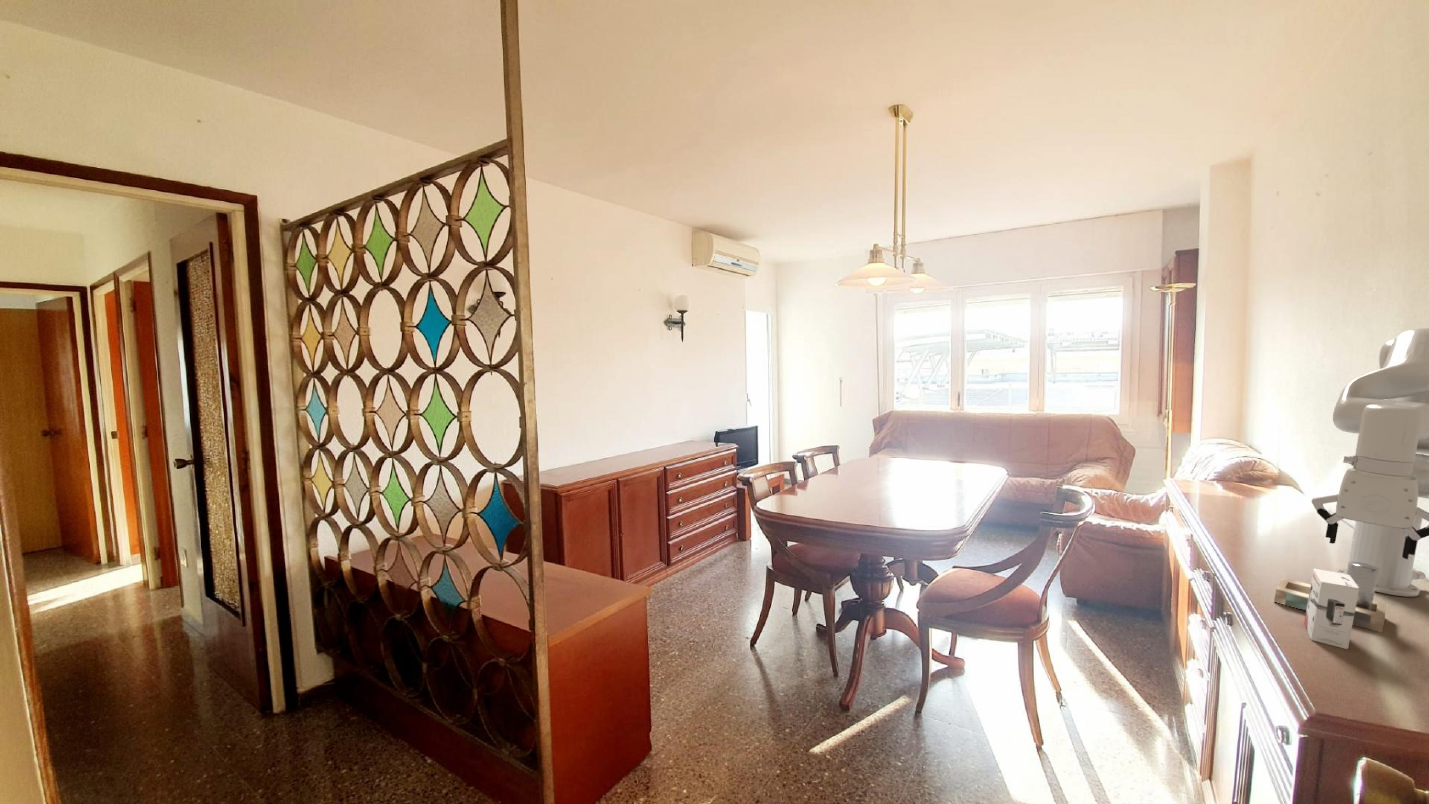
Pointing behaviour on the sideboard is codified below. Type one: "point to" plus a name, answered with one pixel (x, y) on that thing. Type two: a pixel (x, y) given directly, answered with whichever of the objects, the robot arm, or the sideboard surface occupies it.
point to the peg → (1364, 582)
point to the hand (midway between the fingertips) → (1367, 549)
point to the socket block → (1299, 595)
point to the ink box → (1331, 607)
